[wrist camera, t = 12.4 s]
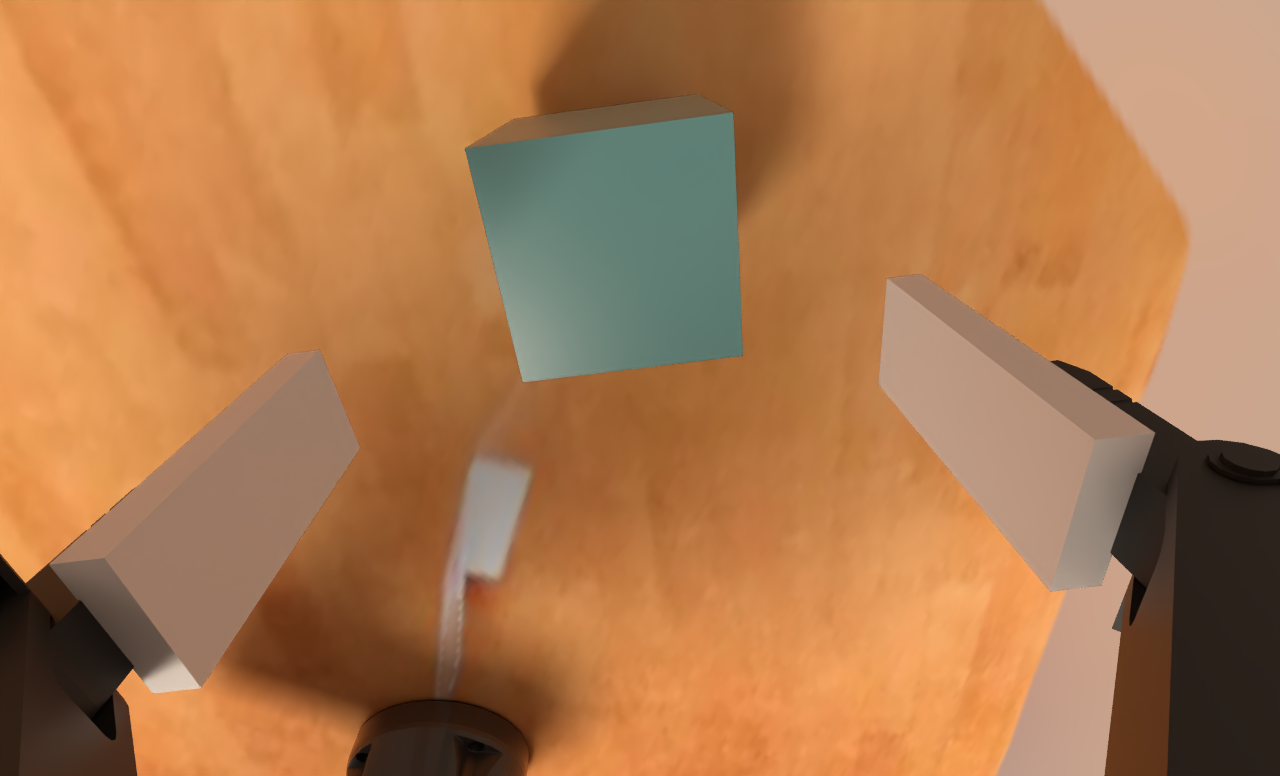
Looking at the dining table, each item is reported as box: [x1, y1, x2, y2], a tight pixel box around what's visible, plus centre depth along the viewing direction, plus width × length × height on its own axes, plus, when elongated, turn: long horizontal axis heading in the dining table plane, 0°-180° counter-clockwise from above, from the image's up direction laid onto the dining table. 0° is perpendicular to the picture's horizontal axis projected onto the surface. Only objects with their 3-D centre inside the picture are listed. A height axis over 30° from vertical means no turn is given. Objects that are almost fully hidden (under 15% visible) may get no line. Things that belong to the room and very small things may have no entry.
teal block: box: [465, 94, 743, 382], centre depth 24 cm, size 8×8×10 cm
